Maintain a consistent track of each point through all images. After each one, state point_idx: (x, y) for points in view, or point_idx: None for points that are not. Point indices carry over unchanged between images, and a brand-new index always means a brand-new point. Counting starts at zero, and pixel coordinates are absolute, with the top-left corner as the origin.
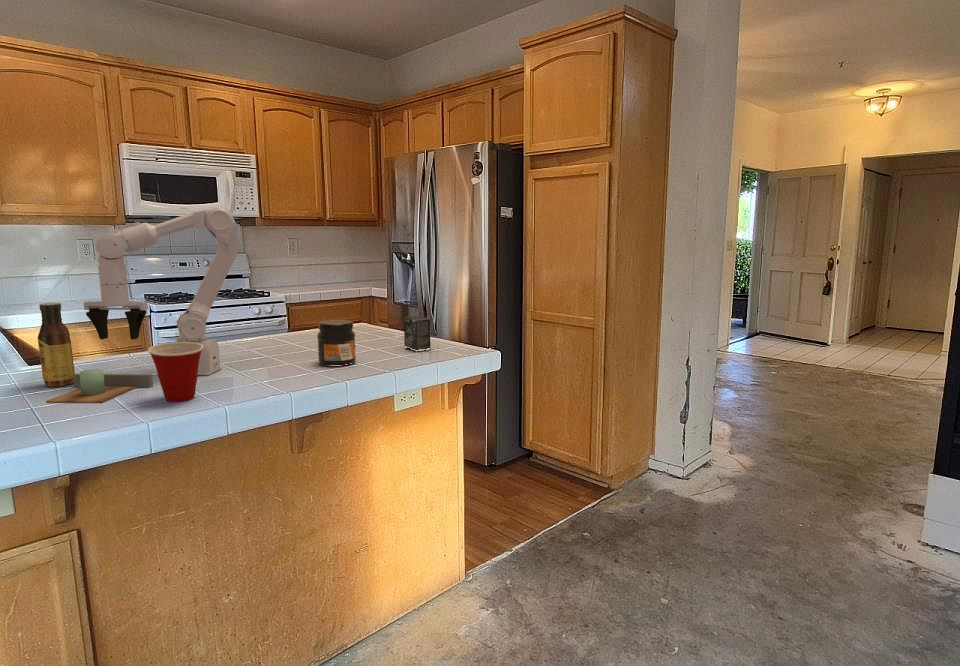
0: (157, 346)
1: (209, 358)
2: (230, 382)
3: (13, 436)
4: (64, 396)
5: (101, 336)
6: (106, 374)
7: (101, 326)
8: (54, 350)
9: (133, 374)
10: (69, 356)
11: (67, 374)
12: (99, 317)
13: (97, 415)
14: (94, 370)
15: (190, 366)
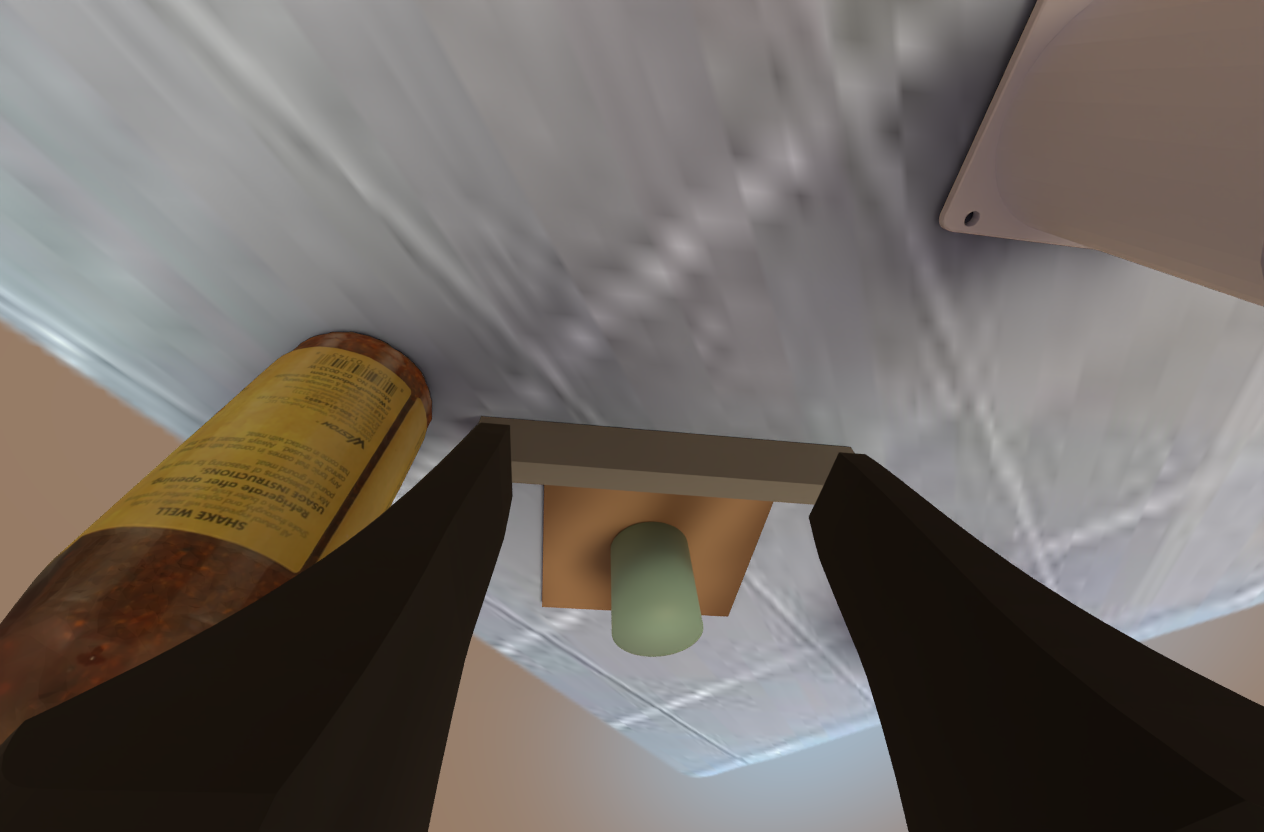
0: None
1: None
2: (1219, 408)
3: (648, 744)
4: (567, 573)
5: (504, 528)
6: (644, 484)
7: (465, 612)
8: None
9: (785, 492)
10: (375, 513)
11: (415, 453)
12: (417, 782)
13: (759, 679)
14: (660, 620)
15: None
